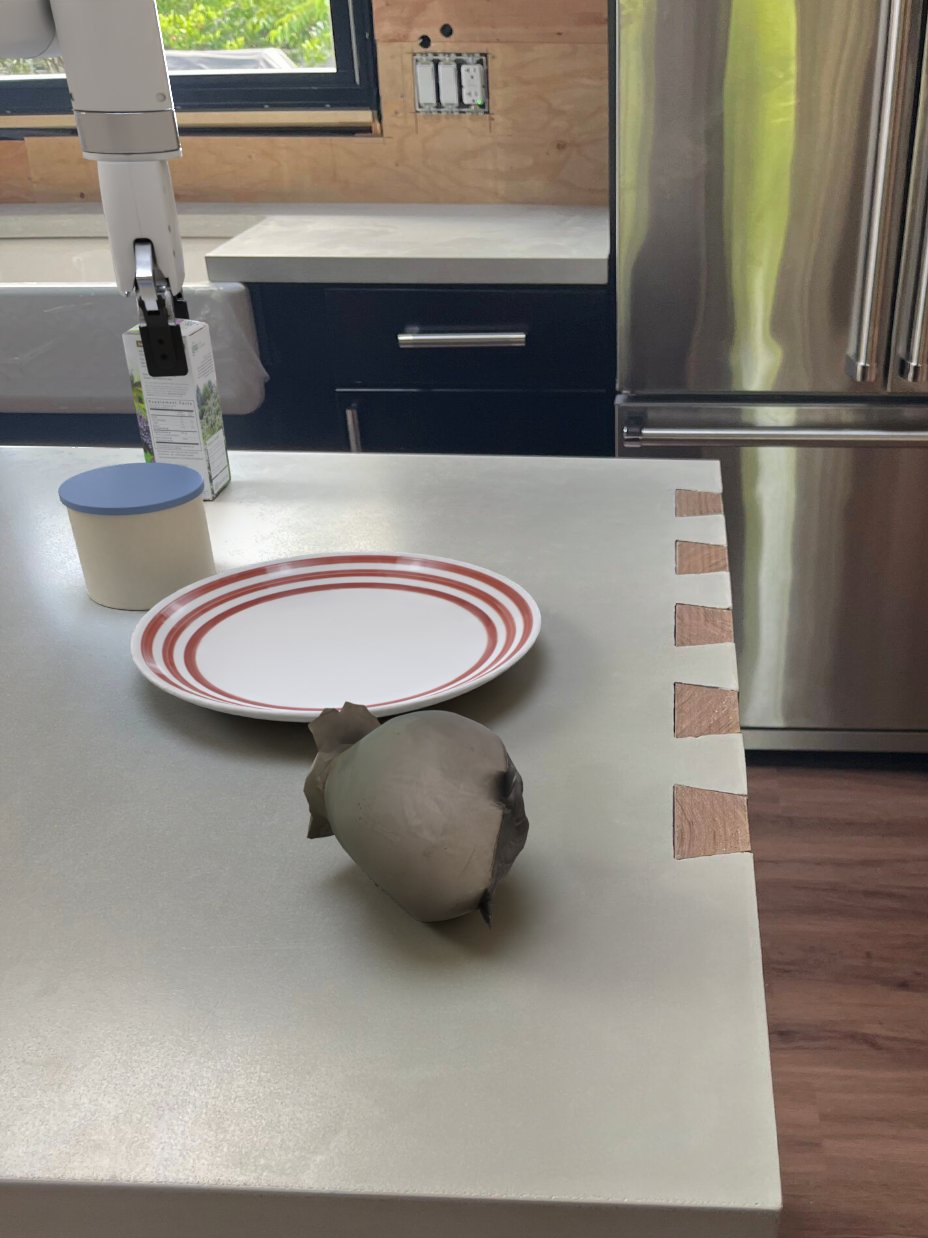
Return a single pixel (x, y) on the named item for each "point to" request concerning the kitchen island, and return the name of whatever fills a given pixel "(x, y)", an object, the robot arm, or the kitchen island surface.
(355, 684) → the dinner plate
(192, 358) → the syrup box
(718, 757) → the kitchen island surface
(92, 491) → the yogurt tub
